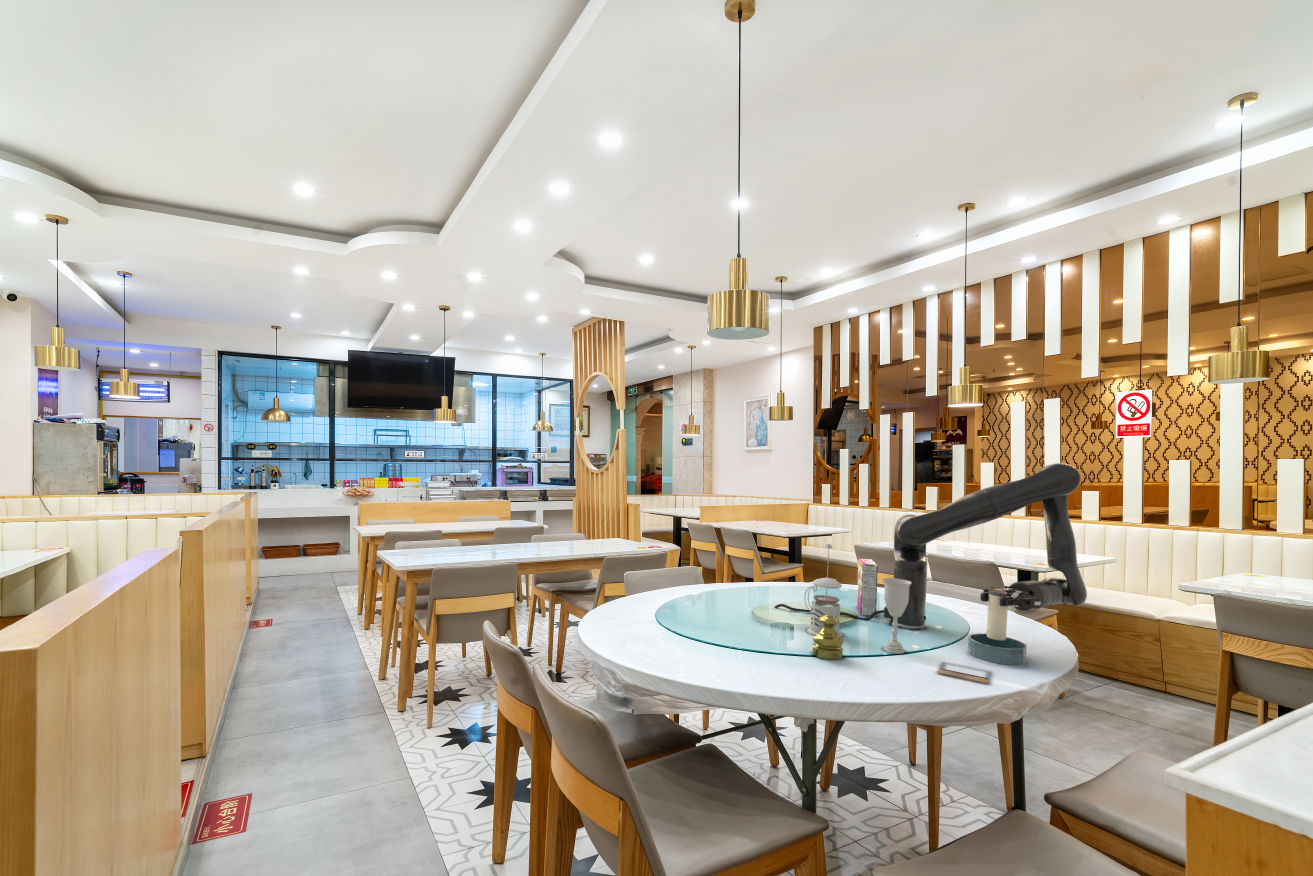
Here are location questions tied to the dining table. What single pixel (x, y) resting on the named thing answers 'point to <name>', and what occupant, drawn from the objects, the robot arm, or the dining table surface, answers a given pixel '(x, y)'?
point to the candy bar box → (867, 587)
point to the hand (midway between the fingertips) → (991, 599)
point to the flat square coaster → (963, 676)
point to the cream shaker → (996, 615)
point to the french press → (824, 603)
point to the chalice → (896, 608)
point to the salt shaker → (828, 640)
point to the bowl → (997, 649)
